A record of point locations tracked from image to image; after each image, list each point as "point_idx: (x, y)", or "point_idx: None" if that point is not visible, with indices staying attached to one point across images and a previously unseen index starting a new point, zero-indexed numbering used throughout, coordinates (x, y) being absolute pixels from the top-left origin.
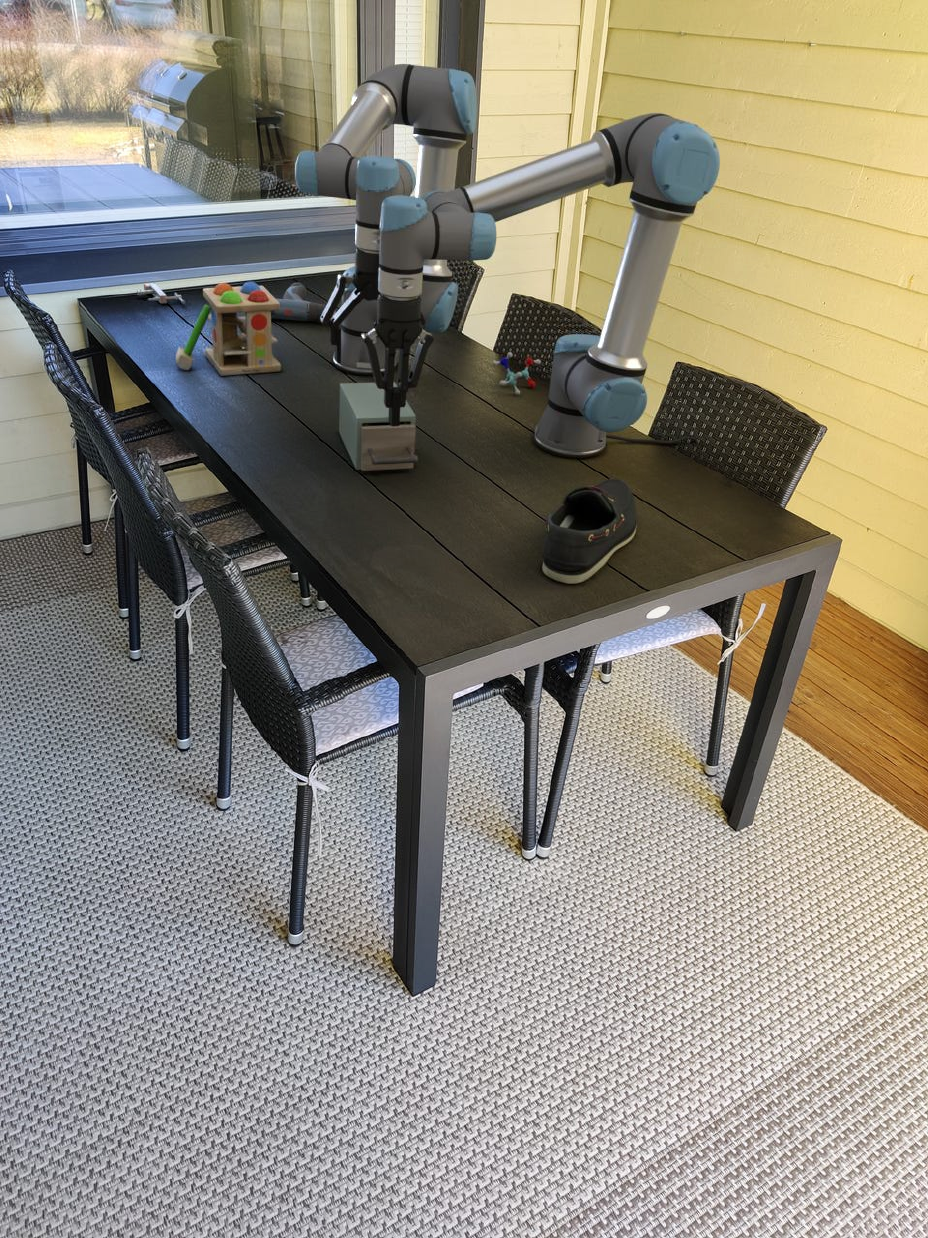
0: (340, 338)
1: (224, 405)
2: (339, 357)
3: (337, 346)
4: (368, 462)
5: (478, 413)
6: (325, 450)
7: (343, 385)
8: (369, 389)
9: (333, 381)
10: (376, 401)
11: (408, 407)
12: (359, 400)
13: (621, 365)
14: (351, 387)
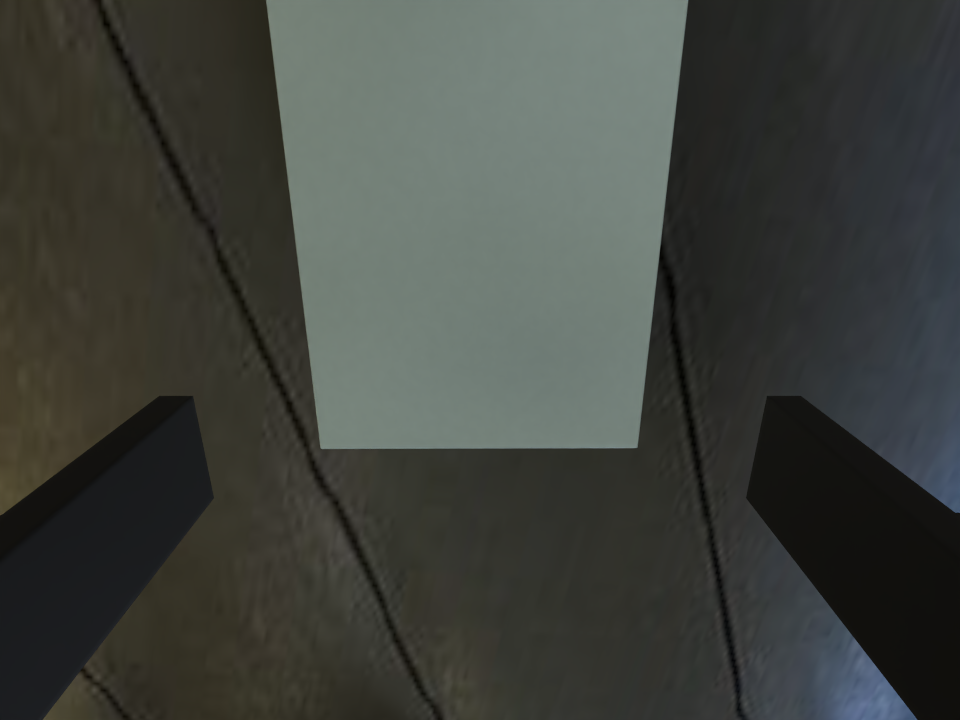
0: (947, 540)
1: None
2: (809, 416)
3: (907, 477)
4: None
5: (23, 465)
6: (681, 192)
7: (625, 420)
8: (489, 353)
9: (503, 717)
10: (487, 156)
11: (283, 18)
12: (594, 184)
13: None
14: (587, 390)
